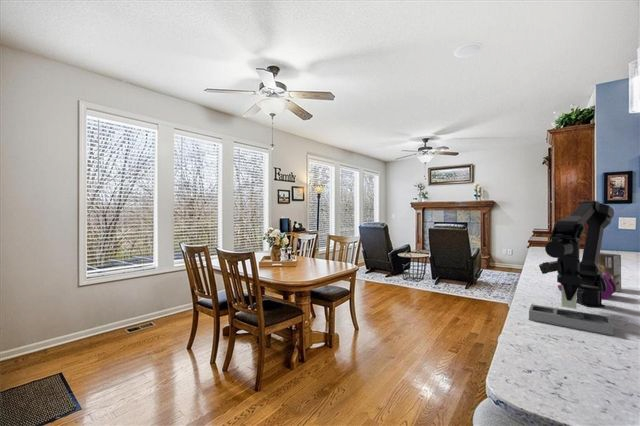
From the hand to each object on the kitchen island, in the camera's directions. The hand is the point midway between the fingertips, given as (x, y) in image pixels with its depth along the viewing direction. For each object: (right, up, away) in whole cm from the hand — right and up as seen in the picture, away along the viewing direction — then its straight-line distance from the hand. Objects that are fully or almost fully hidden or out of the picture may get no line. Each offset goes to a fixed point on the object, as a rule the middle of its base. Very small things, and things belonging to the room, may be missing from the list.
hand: (568, 299), depth 105 cm
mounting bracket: (+26, -5, +22) cm, 34 cm away
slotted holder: (-9, -5, -10) cm, 14 cm away
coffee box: (+41, -4, +29) cm, 51 cm away
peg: (0, -3, 0) cm, 3 cm away
